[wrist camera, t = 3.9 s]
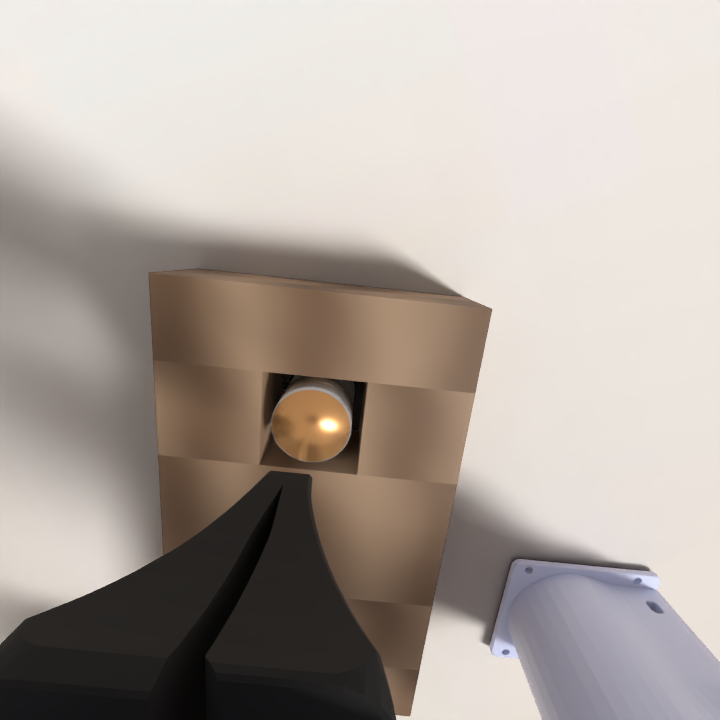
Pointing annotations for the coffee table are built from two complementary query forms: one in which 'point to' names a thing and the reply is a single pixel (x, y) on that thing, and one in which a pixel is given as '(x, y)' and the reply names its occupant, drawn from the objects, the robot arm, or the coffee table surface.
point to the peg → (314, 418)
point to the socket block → (365, 447)
